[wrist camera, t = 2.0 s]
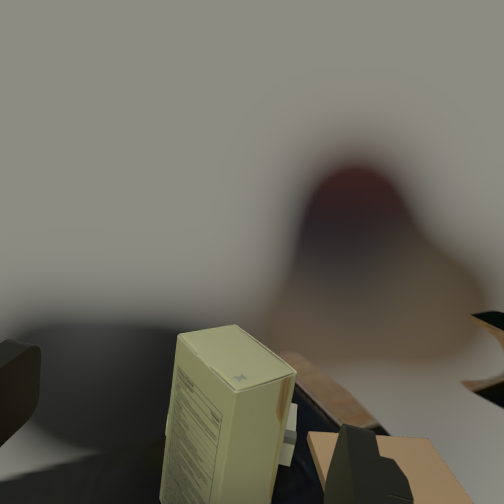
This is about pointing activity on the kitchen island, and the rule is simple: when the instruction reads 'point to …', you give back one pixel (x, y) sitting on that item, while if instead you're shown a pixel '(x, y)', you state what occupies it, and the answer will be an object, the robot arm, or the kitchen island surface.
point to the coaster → (401, 466)
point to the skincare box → (225, 419)
